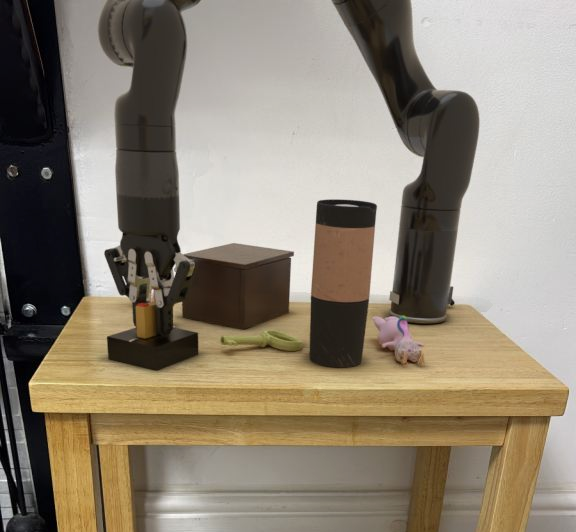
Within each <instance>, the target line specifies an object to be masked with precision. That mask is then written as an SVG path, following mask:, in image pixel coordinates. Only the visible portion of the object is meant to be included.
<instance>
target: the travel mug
mask: <svg viewBox="0 0 576 532" xmlns="http://www.w3.org/2000/svg"><path fill="white" fill-rule="evenodd" d="M377 210H378V205H377V203H374V202H371V201H365V200H357V199H356V200H354V199H341V198H340V199H336V198H335V199H333V198H332V199H319V200H317V202H316V213H315V226H314V239H313V240H314V242H313V244H314V245H313V255H312V256H313V257H312V275H311V288H310V313H309V314H310V315H309V316H310V318H309V320H310V321H309V360H310V361H311V362H312V363H314V364H316V365H319V366H321V367H322V366H323V367H328V368H351V367H356V366H358V365H360V364H361V363H362V361H363V354H364V353H363V352H364V344H365V336H366V327H367V319H368V312H369V303H370V296H371V295H370V294H371V282H372V281H371V280H372V270H373V269H372V268H373V256H374V245H375V233H376V221H377Z"/></svg>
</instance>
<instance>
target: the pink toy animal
mask: <svg viewBox="0 0 576 532" xmlns="http://www.w3.org/2000/svg"><path fill="white" fill-rule="evenodd" d="M372 320H373V325H374V326H375V328H376V329H377V331H378V335H377V336H376V337H377V342H378V343H379V344H380V345H381V348H383V349H384V348H388V349H389V351H394V356H395V359H396V361H397V362H399V363H400V364H401V365H402V366H403V367H405V364H406V365H409V362H408V360H409V361H410V362H412V363H417V364H418V365H419V364H420V366H421V367H423V365H422V364H425V360H424V359H425V358H424V353H423V350H422V349H420V348H424V347H425V343H423V342H418V341H415V340H413V336H412V333H410V331H409V324H408V322H407V320H406V317H405V316H404V315H403V316H401V317H400V318H397V317H394V316H392V317H391V316H387V317H385V318H382V317H381V316H373V318H372Z"/></svg>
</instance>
